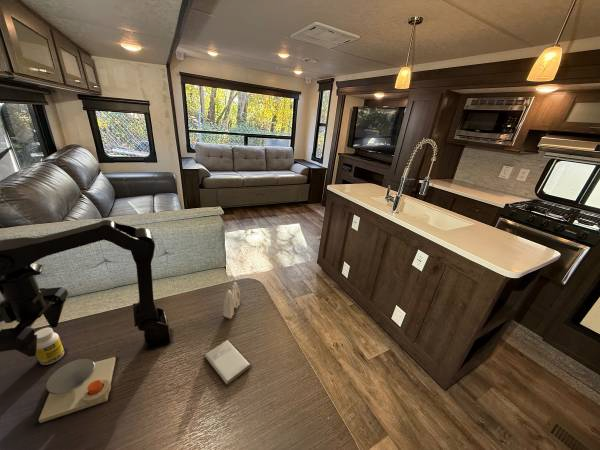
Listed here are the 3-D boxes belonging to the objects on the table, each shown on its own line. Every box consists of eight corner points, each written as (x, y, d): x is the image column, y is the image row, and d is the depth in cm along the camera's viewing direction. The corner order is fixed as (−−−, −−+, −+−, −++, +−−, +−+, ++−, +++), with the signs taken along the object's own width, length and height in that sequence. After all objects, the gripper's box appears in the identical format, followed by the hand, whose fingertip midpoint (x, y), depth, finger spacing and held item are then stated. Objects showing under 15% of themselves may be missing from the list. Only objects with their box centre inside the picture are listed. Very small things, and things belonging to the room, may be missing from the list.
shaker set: (231, 322, 92) (230, 298, 87) (220, 320, 92) (219, 297, 88) (241, 301, 103) (241, 279, 98) (232, 299, 103) (231, 277, 99)
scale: (118, 358, 75) (116, 351, 74) (109, 402, 64) (107, 394, 63) (59, 375, 69) (56, 367, 68) (38, 425, 58) (34, 418, 57)
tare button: (103, 382, 66) (102, 378, 65) (101, 392, 63) (99, 388, 63) (90, 386, 64) (88, 382, 64) (87, 396, 62) (85, 392, 61)
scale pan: (98, 355, 72) (98, 354, 72) (90, 385, 64) (89, 384, 64) (55, 367, 68) (54, 365, 68) (40, 400, 60) (39, 399, 60)
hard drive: (226, 385, 70) (205, 357, 78) (250, 367, 76) (227, 342, 83) (226, 381, 70) (204, 353, 77) (250, 363, 75) (227, 339, 83)
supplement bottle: (50, 367, 71) (38, 342, 67) (34, 363, 71) (22, 338, 68) (69, 351, 75) (60, 327, 72) (55, 347, 76) (45, 323, 72)
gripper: (6, 273, 63) (28, 319, 69) (-66, 328, 47) (-29, 382, 53) (60, 268, 67) (76, 313, 73) (9, 319, 50) (36, 370, 57)
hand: (44, 340), depth 64 cm, fingers open, 9 cm apart
